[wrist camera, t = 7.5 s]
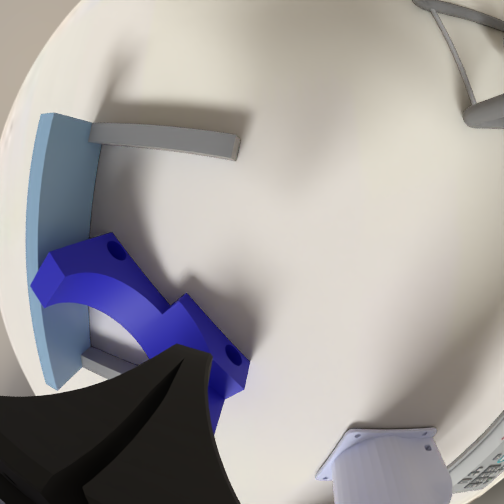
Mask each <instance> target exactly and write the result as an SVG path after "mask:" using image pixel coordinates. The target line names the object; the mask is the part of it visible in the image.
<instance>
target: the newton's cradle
mask: <svg viewBox="0 0 504 504" xmlns="http://www.w3.org/2000/svg"><path fill="white" fill-rule="evenodd" d="M412 1H413V2H414V4H415V5H417V6H418V7H420V8H422V9H425V10H428V11H431V13H432V14H433V16H434V18H435V20H436V21H437V23H438V25H439V27H440V29H441V31H442V33H443V35H444V37H445V39H446V41H447V43H448V45H449V47H450V49H451V51H452V54H453V56H454V58H455V60H456V63H457V65H458V68H459V70H460V73H461V75H462V78H463V80H464V83H465V86H466V89H467V92H468V95H469V98H470V101H471V104H472V106H470V107H468V108H467V109H466V110H465V111H464V112H463V120H464V122H465V123H466V124H467V125H468V126H469V127H472V128H492V129H504V94H501V95H498V96H496V97H493V98H490V99H488V100H485V101H483V102H480V103H476V100H475V97H474V94H473V91H472V88H471V86H470V83H469V80H468V78H467V75H466V72H465V70H464V67H463V65H462V63H461V60H460V58H459V56H458V53H457V51H456V49H455V47H454V45H453V43H452V41H451V39H450V37H449V35H448V33H447V31H446V29H445V27H444V25H443V23H442V21H441V20H440V18H439V16H438V14H437V13H436V12H438V13H442V14H447V15H451V16H456V17H460V18H463V19H467V20H471V21H474V22H477V23H481V24H484V25H487V26H490V27H493V28H495V29H498V30H501V31H504V21H502V20H499V19H497V18H494V17H492V16H489V15H486V14H484V13H481V12H478V11H475V10H472V9H468V8H465V7H462V6H458V5H455V4H451V3H447V2H443V1H439V0H412ZM503 45H504V38H503Z"/></svg>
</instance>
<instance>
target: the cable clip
mask: <svg viewBox="0 0 504 504" xmlns="http://www.w3.org/2000/svg"><path fill="white" fill-rule="evenodd" d="M30 287H31V289H32V290H33V292H34V293H35V295H36V297H37V298H38V300H39V301H40V303H41V304H42V306H43V307H44V308H46V307H48V306H51V305H54V304H58V303H68V302H70V303H79V304H83V305H87V306H90V307H93V308H95V309H97V310H99V311H101V312H103V313H105V314H107V315H108V316H110V317H111V318H113V319H114V320H116V321H117V322H118V323H119V324H121V325H122V326H123V327H124V328H125V329H126V330H127V331H128V332H129V333H130V334H131V335H132V336H133V337H134V338H135V339H136V341H137V342H138V343H139V344H140V346H141V347H142V348H143V350H144V351H145V353H146V354H147V356H148V358H149V359H151V358H153V357H155V356H156V355H158V354H160V353H161V352H163V351H165V350H166V349H168V348H169V347H171V346H173V345H175V344H180V345H184V346H187V347H190V348H194V349H197V350H201V351H204V352H208V353H211V355H212V356H213V360H212V366H211V371H210V377H209V383H208V402H209V411H210V418H211V424H212V429H213V433H214V434H215V430H216V427H217V424H218V420H219V417H220V414H221V410H222V407H223V404H224V400H225V399H227V398H229V397H231V396H233V395H234V394H236V393H238V392H240V391H242V390H244V388H245V383H246V379H247V374H248V369H249V365H250V361H249V360H248V359H247V358H246V357H245V356H244V355H243V354H242V353H241V352H240V351H239V350H238V349H237V348H236V347H235V346H234V345H233V344H232V343H231V342H230V341H229V339H228V338H227V337H226V336H225V335H224V334H223V333H222V332H221V331H220V330H219V329H218V328H217V326H216V325H215V324H214V323H213V322H212V321H211V320H210V319H209V318H208V316H207V315H206V314H205V313H204V312H203V311H202V310H201V309H200V307H199V306H198V305H197V304H196V303H195V302H194V301H193V299H192V298H191V297H190V296H189V295H188V294H187V293H186V294H184V295H183V296H182V297H181V298H179V299H178V300H177V301H176V302H175V303H173V304H172V305H171V306H170V305H169V303H168V302H167V301H166V300H165V299H164V298H163V296H162V295H161V294H160V293H159V292H158V290H157V289H156V288H155V287H154V286H153V284H152V283H151V282H150V281H149V279H148V278H147V277H146V276H145V274H144V273H143V272H142V271H141V269H140V268H139V267H138V266H137V264H136V263H135V262H134V261H133V259H132V258H131V257H130V255H129V254H128V253H127V251H126V250H125V249H124V247H123V246H122V245H121V243H120V242H119V241H118V239H117V238H116V237H115V235H114V234H113V233H112V232H111V233H108V234H104V235H101V236H98V237H94V238H91V239H88V240H84V241H81V242H78V243H75V244H72V245H68V246H65V247H62V248H59V249H56V250H53V251H50V252H49V253H48V255H47V256H46V258H45V260H44V261H43V263H42V265H41V267H40V268H39V270H38V272H37V274H36V275H35V277H34V279H33V281H32V283H31V285H30Z"/></svg>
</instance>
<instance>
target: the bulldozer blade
mask: <svg viewBox="0 0 504 504" xmlns="http://www.w3.org/2000/svg"><path fill="white" fill-rule="evenodd" d="M240 141H241V140H240V139H239V138H238V136H237V135H235V134H229V133H222V132H215V131H208V130H200V129H191V128H182V127H172V126H160V125H146V124H127V123H91V122H88V121H84V120H80V119H77V118H73V117H69V116H65V115H61V114H57V113H46V114H41V116H40V120H39V124H38V129H37V134H36V139H35V144H34V149H33V155H32V162H31V168H30V176H29V185H28V196H27V210H26V268H27V283H28V293H29V302H30V310H31V317H32V324H33V329H34V335H35V340H36V345H37V350H38V355H39V359H40V363H41V367H42V371H43V375H44V378H45V382H46V384H47V385H49V386H51V387H52V388H54V389H55V390H57V391H58V390H59V389H60V388H61V387H62V386H63V385H64V384H65V383H66V382H67V381H68V380H69V379H70V378H71V377H72V376H73V375H74V374H75V373H76V372H77V371H79V370H80V369H81V368H82V367H84V368H86V369H88V370H90V371H92V372H94V373H96V374H98V375H100V376H102V377H104V378H107V379H111V378H114V377H116V376H118V375H120V374H122V373H125V372H127V371H129V370H131V369H133V368H135V367H137V365H135V364H132V363H129V362H127V361H124V360H122V359H119V358H117V357H115V356H112V355H110V354H108V353H105V352H103V351H101V350H98V349H96V348H94V347H92V346H91V342H90V329H89V312H88V306H87V305H83V304H79V303H70V302H68V303H58V304H54V305H51V306H48V307H46V308H44V307H43V306H42V304H41V303H40V301H39V300H38V298H37V297H36V295H35V293H34V292H33V290H32V289H31V287H30V285H31V283H32V281H33V279H34V277H35V275H36V274H37V272H38V270H39V268H40V267H41V265H42V263H43V261H44V260H45V258H46V256H47V255H48V253H49V252H50V251H53V250H56V249H59V248H62V247H65V246H68V245H72V244H75V243H78V242H81V241H84V240H88V239H89V234H90V221H91V210H92V201H93V193H94V186H95V179H96V173H97V166H98V161H99V155H100V150H101V145H116V146H128V147H139V148H148V149H157V150H166V151H174V152H181V153H189V154H196V155H202V156H209V157H215V158H221V159H227V160H232V161H236V159H237V154H238V150H239V145H240Z"/></svg>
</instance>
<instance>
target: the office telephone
mask: <svg viewBox="0 0 504 504" xmlns="http://www.w3.org/2000/svg"><path fill="white" fill-rule="evenodd" d="M447 469H448V472H449V474H450V476H451V479H452V486H453V490H452V494H453V493H461V492H467V491H473V490H474V491H475V490H480V489H483V488H484V487H486V486H487V485H488V484H489V483H491V482H492V481H493V480H494V479H495V478H496V477H497V476H498V475H500V474H501V473H502V472H503V471H504V411H503V412H502V413H501V414H500V415H499V416H498V418H497V419H496V420H495V421H494V422H493V423H492V424H491V425H490V426H489V427H488V429H487V430H486V431H485V432H484V433H483V434H482V435H481V436H480V437H479V438H478V439H477V440H476V441H475V442H474V443H473V444H471V445H470V446H469V447H468V448H467V449H466V450H465V451H464V452H463V453H462V454H461V455H460V456H459V457H457V458H456V459H455V460H454V461H453V462H452V463H451V464H449V465H448V466H447Z"/></svg>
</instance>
